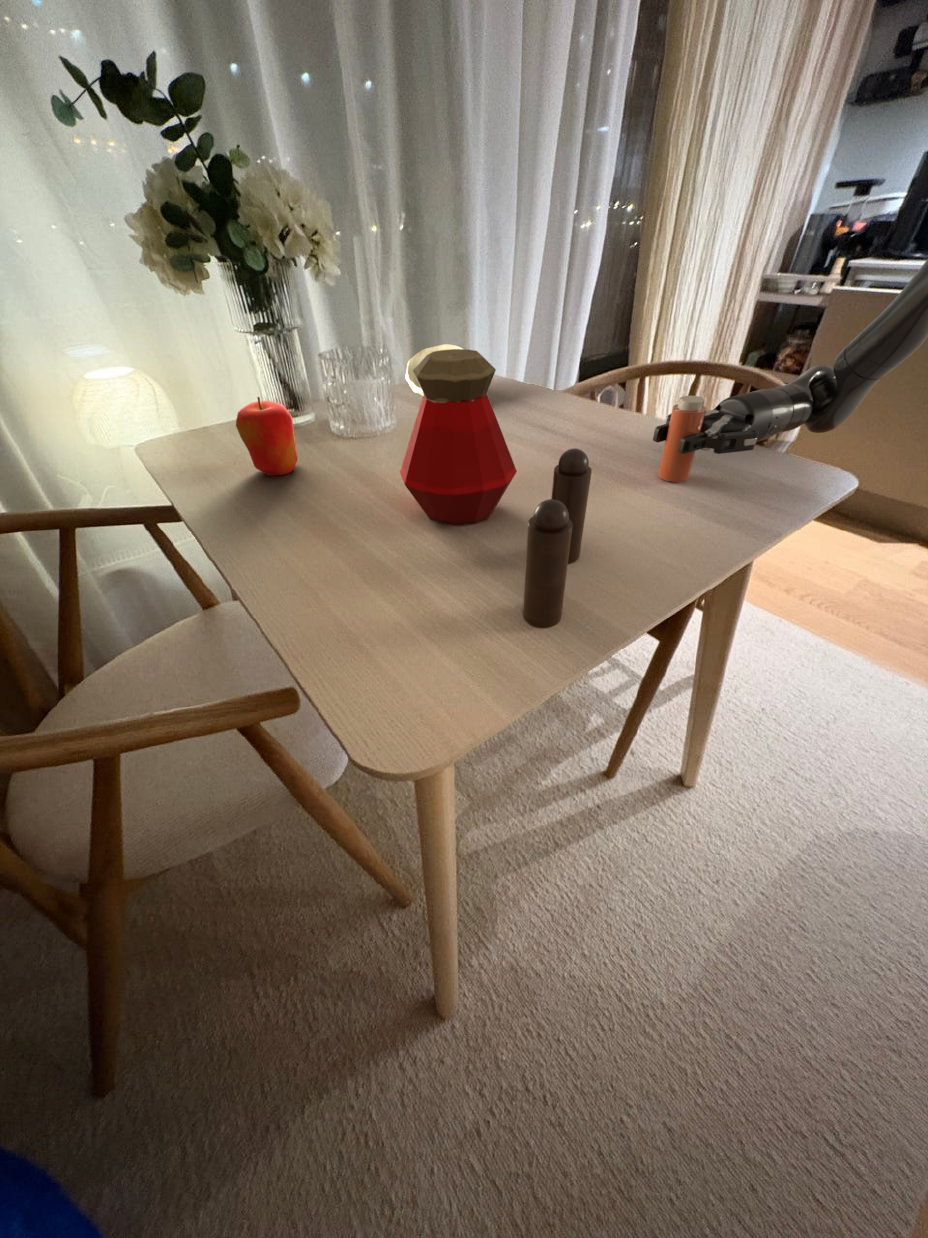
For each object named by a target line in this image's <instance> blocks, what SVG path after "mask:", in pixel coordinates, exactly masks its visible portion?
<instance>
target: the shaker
mask: <svg viewBox="0 0 928 1238" xmlns="http://www.w3.org/2000/svg"><path fill="white" fill-rule="evenodd" d="M704 402H705V398H704V397H701V396H698V395H683V396H680V397H679V399H678V403H676V404H674V405H673V406H672V409H671V413H672V414H671V413H670V414H671V418H670V423H669V427H668V431H667V436H666V440H665V441H664V444H663V449H662V452H661V453H662V454H661V458H660V463H659V467H658V471H657V476H658V477H659V478H660V479H661V480H664V481H667V482H673V483H680V482H684V481H686V480H688V479H689V476H690V472H691V470H692V469H691V468H692V465H693V462H694V457H695V453H696V451H692V452H688V453H685V454H683V453H680V452H679V446H680V442H681V439H682V438H683V437H685V436H689V435H692V434H696V433H700V432H701V428H702V425H703V421H704V417H705V414H706V411H708V409H707V408H706V407H705V406H704Z"/></svg>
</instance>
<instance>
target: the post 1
mask: <svg viewBox="0 0 928 1238" xmlns="http://www.w3.org/2000/svg"><path fill="white" fill-rule="evenodd" d="M572 526H573V524H572V521H571V520H570V519H569V513H568V510H567V508H566V506H565V505H564V504H563V503H562V502H560V501H558V500H555V499H552V498H551V499H546V500H545V499H544V500H543V501H541V502H540V503H538V505H536V506H535V509H534V510H533V514H532V516H531V517H530V518H529V520H528V522H527V538H526V555H525V569H524V570H525V572H524V587H523V589H524V590H523V603H522V604H523V605H522V606H523V607H522V617H523V619H524V621H525V623H527V624H529V625H530V626H532V627H536V628H540V629H541V628H542V629H545V628H551V627H554V626H556V625H558V624H559V623H560V621H561V619H562V612H563V605H564V597H565V588H566V582H567V581H566V580H567V574H568V558H569V550H570V542H571V534H572Z"/></svg>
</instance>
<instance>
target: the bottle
mask: <svg viewBox="0 0 928 1238" xmlns="http://www.w3.org/2000/svg"><path fill="white" fill-rule="evenodd" d="M496 370H497V369H496V368H495V367H494V366H493V365H492V364H491V363H490V362H489V361H488V360H487V359H486V358H485V357H484V356H483V355H482V354H481V353H480V352H479V351H477V350H473V349H466V348H465V349H464V348H462V349H449V350H440V351H434V352H431V353H430V354H428V355H427V356H426V357H425V358H424V359H423V360H422V361H421V362H420V363H419V365H418V366H417V367H416V368H415V369H414V370H413V372H414V374H415V376H416V379H417V381H418V383H419V385H420V387H421V389H422V391H423V393H424V395H423V396H422V398H421V402H420V406H419V408H418V412H417V414H416V418H415V422H414V424H413V429H412V431H411V435H410V438H409V441H408V444H407V448H406V451H405V454H404V457H403V461H402V464H401V467H400V470H399V472H400V476H401V479H402V482H403V483H404V484H403V485H404V486H405V487H406V489H407V491H409V493H410V495H411V496H412V497H413V498H414V500H415V501H416V503H417V504H418V505H419V507H420V509H422V511H423V512H424V514H425V515H426V516H427V517H428V519H429V520H430V521H433V522H436V523H438V524H440V525H441V524H442V525H449V526H456V527H459V526H467V525H475V524H478V523H481V522H484V521H488V519H489V518H490V516H491V515H492V514H493V512H494V510H495V509H496V507H497V506H498V503H500V500H501V499H502V497H503V496H504V494H505V493H506V490H507V489H508V488H509V486H510V484H511V482H512V480H513V479H514V477H515V475H516V474H517V468H516V466H515V465H516V464H515V463H514V461H513V458H512V455H511V452H510V450H509V447H508V445H507V441H506V439H505V437H504V435H503V432H502V430H501V429H502V428H501V426H500V424H499V421H498V418H497V416H496V413H495V411H494V408H493V405H492V403H491V401H490V398H489V395H488V392H489V389H490V386H491V384H492V381H493V379H494V376H495V373H496Z"/></svg>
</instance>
